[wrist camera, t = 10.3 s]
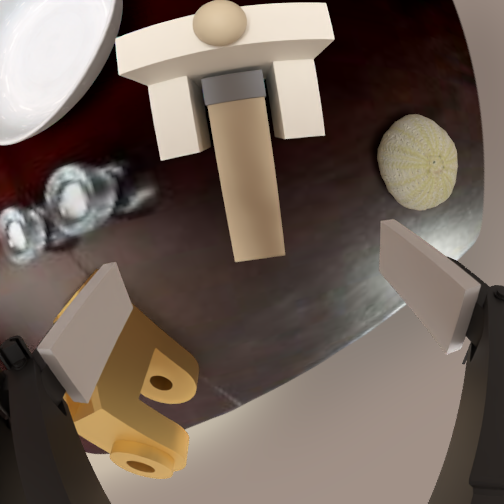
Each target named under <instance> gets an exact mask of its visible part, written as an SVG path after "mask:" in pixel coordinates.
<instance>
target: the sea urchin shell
mask: <svg viewBox="0 0 504 504" xmlns="http://www.w3.org/2000/svg"><path fill="white" fill-rule="evenodd" d="M377 156H378V157H377V160H378V164H379V169H380V174H381V176H382V179H383V180H384V182H385V184H386V188H387V189H388V191H389V192H390V193H391V194H392V195H393V197H394V198H395V199H396V201H397V202H398V203H400V204H401V205H403V206H404V207H407V208H410V209H416V210H426V209H428V208H432V207H435V206H436V207H437V205H439V204H440V203H442V202H444V201H445V200H447V199H448V197H449V196H450V194H451V193H452V190H453V187H454V185H455V182H456V173H457V167H458V164H457V150H456V148H455V145H454V143H453V141H452V140H451V138H450V137H449V136H448V135H447V133H446V131H445V130H443V129H442V128H441V127H439V126H438V125H437V124H436V123H435V122H434V121H432V120H430V119H428V118H426V117H423V116H421V115H419V114H418V115H417V114H413V115H406V116H404V117H403V118H401V119H400V120H398V121H395V123H394V124H393V125H392V126H391V128H390V129H389V130H388V131H386V133H385V134H384V135H383V138H382V141H381V143H380V145H379V148H378V154H377Z"/></svg>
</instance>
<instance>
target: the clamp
mask: <svg viewBox="0 0 504 504" xmlns="http://www.w3.org/2000/svg"><path fill="white" fill-rule="evenodd" d="M97 271H98V269H96V270H95V271H94V272H93V274H92V275H91V276H90V277H89V278H88V279H87V280H86V282H85V283H84V284H83V285H82V286H81V287H80V289H79V290H78V291H77V292H76V293H75V295H74V296H73V297H72V298H71V299H70V301H69V302H68V303H67V304H66V306H65V307H64V308H63V309H62V311H61V312H60V313H59V314H58V316H57V317H56V318H55V320H54V321H53V324H54V323H55V322H56V321H57V320H58V319H59V318H60V316H61V315H62V314H63V312H64V311H65V310H66V309H67V307H68V306H69V305H70V304H71V302H72V301H73V300H74V299H75V297H76V296H77V295H78V294H79V292H80V291H81V290H82V289H83V288H84V286H85V285H86V284H87V283H88V282H89V281H90V279H91V278H92V277H93V276H94V275H95V274H96V272H97ZM132 306H133V309H132V311H131V313H130V315H129V317H128V319H127V321H126V323H125V325H124V327H123V329H122V331H121V333H120V335H119V337H118V339H117V341H116V343H115V345H114V347H113V349H112V352H111V354H110V356H109V358H108V360H107V362H106V364H105V366H104V369H103V371H102V373H101V375H100V377H99V380H98V382H97V384H96V386H95V389H94V391H93V393H92V396H91V398H90V400H89V403H80V402H74V401H73V400H72V399H71V398H70V396H69V395H68V394H67V392H65V394H64V396H63V399H64V400H65V401H66V403H67V404H68V407H69V411H70V413H71V416H72V419H73V422H74V425H75V428H76V430H77V433H78V434H79V435H80V436H82V437H84V438H85V439H87V440H88V441H90V442H92V443H93V444H95V445H96V446H98V447H100V448H102V449H103V450H105V451H107V452H108V453H110V459H111V460H112V461H113V462H114V463H115V464H116V465H118V466H119V467H121V468H123V469H125V470H127V471H129V472H132V473H134V474H137V475H140V476H144V477H150V478H156V479H165V478H170V477H171V476H172V475H173V471H178V470H181V469H183V468H184V467H185V466H186V460H187V453H188V445H189V435H188V433H187V432H186V431H185V430H184V429H183V428H182V427H181V426H180V425H178V424H177V423H175V422H174V421H172V420H170V419H168V418H167V417H165V416H164V415H162V414H160V413H159V412H157V411H156V410H154V409H152V408H151V407H149V406H148V405H146V404H145V403H143V402H142V401H140V400H139V395H140V393H141V394H142V395H144V396H146V397H148V398H150V399H152V400H155V401H158V402H162V403H168V404H177V403H183V402H186V401H188V400H190V399H191V398H192V397H193V396H194V395H195V393H196V388H197V382H198V375H199V366H198V363H197V361H196V359H195V358H194V357H193V356H192V355H191V354H190V353H189V352H188V351H187V350H186V349H184V348H183V347H182V346H181V345H179V344H178V343H177V342H176V341H175V340H173V339H172V338H171V337H170V336H169V335H167V334H166V333H165V332H164V331H163V330H161V329H160V328H159V327H158V326H157V325H156V324H155V323H153V322H152V321H151V320H150V319H149V318H148V317H147V316H146V315H144V314H143V313H142V312H141V311H140V310H139V309H138V308H137V307H136V306H135V305H133V304H132Z"/></svg>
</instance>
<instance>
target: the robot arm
mask: <svg viewBox="0 0 504 504" xmlns="http://www.w3.org/2000/svg"><path fill="white" fill-rule="evenodd" d="M379 272H380V273H381V274H382V275H383V276H384V278H385V279H386V280H387V281H388V282H389V283H390V285H391V286H392V287H393V288H394V289H395V290H396V292H397V293H398V294H399V295H400V296H401V298H402V299H403V300H404V301H405V302H406V304H407V305H408V306H409V307H410V309H411V310H412V311H413V312H414V314H415V315H416V316H417V317H418V319H419V320H420V321H421V322H422V323H423V325H424V326H425V327H426V329H427V330H428V331H429V332H430V334H431V335H432V337H433V338H434V339H435V340H436V342H437V343H438V344H439V346H440V347H441V349H442V350H443V351H444V353H445V354H446V355H447V354H449V353H451V352H454V351H457V350H459V349H461V348H462V345H463V342H464V339H465V337H466V336H467V337H468V339H469V340H470V341H471V343H470V346H469V349H468V351H467V353H466V356H465V358H464V360H463V363H462V364H465V362H466V360H467V363H466V371H465V378H464V384H463V390H462V396H461V400H460V406H459V410H458V414H457V419H456V423H455V427H454V431H453V435H452V438H451V442H450V445H449V448H448V452H447V455H446V458H445V461H444V464H443V467H442V470H441V472H440V475H439V478H438V480H437V483H436V486H435V488H434V490H433V493H432V495H431V498H430V500H429V502H428V504H504V286H499V285H495V286H491V287H489V286H488V285H487V284H486V283H484V282H483V281H482V280H480V278H478V277H477V276H476V275H475V274H473V273H471V271H470V270H468V269H467V268H465V266H463V265H462V264H461V263H459V262H458V261H456V260H454V259H452V258H449V257H446V256H445V255H443V254H442V253H441V252H439V251H438V250H437V249H435V248H434V247H433V246H431V245H430V244H429V243H427V242H426V241H424V240H423V239H422V238H420V237H419V236H417V235H416V234H415V233H413V232H412V231H410V230H409V229H407V228H406V227H405V226H403V225H402V224H400V223H399V222H397V221H396V220H394V219H392V220H384V221H381V227H380V261H379ZM132 309H133V306H132V303H131V301H130V298H129V296H128V293H127V291H126V288H125V285H124V283H123V280H122V277H121V274H120V272H119V269H118V266H117V263H116V262H113V263H107V264H103V266H102V267H101V268H100V269H99V270H98V271H97V272H96V274H95V275H94V276H93V277H92V278H91V279H90V281H89V282H88V283H87V284H86V285H85V286H84V288H83V289H82V290H81V291H80V292H79V294H78V295H77V296H76V297H75V299H74V300H73V301H72V302H71V304H70V305H69V306H68V307H67V309H66V310H65V311H64V312H63V314H62V315H61V316H60V318H59V319H58V320H57V321H56V322H55V323H54V324H53V326H52V327H51V328H50V330H49V331H48V332H47V334H46V336H44V338H43V339H42V341H41V342H40V343H39V345H38V346H37V348H36V349H35V350H34V352H33V353H32V354H31V352H30V351H29V349H28V347H27V346H26V344H25V342H24V341H23V339H22V337H20V336H13V337H11V338H9V339H7V340H6V341H4V342H3V343H2V344H1V346H0V359H1V360H2V362H3V363H4V365H5V366H6V368H7V369H8V370H4V371H2V369H1V368H0V504H111V503H110V501H109V499H108V497H107V496H106V494H105V492H104V490H103V488H102V486H101V484H100V482H99V480H98V478H97V476H96V474H95V472H94V470H93V468H92V466H91V464H90V462H89V460H88V457H87V455H86V453H85V450H84V448H83V445H82V443H81V441H80V438H79V435H78V433H77V430H76V428H75V425H74V422H73V419H72V416H71V413H70V411H69V407H68V404H67V403H66V401H65V400H64V399H63V396H64V394H65V392H67V394H68V395H69V396H70V398H71V399H72V400H73V401H74V402H80V403H89V400H90V398H91V396H92V393H93V391H94V389H95V386H96V384H97V382H98V380H99V377H100V375H101V373H102V371H103V369H104V366H105V364H106V362H107V360H108V358H109V356H110V354H111V352H112V349H113V347H114V345H115V343H116V341H117V339H118V337H119V335H120V333H121V331H122V329H123V327H124V325H125V323H126V321H127V319H128V317H129V315H130V313H131V311H132Z"/></svg>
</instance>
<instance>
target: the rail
mask: <svg viewBox="0 0 504 504" xmlns="http://www.w3.org/2000/svg"><path fill="white" fill-rule="evenodd" d="M201 82H202V88H203V94H204V101H205V105H206V106H207V107H208V112H209V118H210V124H211V130H212V136H213V142H214V148H215V154H216V160H217V165H218V171H219V177H220V182H221V188H222V194H223V199H224V205H225V210H226V216H227V221H228V227H229V232H230V237H231V243H232V248H233V253H234V259H235V262H240V261H247V260H254V259H261V258H268V257H275V256H282V255H285V249H284V240H283V231H282V222H281V214H280V205H279V197H278V189H277V182H276V174H275V166H274V159H273V152H272V145H271V138H270V131H269V124H268V117H267V111H266V104H265V97H266V92H265V85H264V79H263V73H262V70H253V71H246V72H238V73H232V74H226V75H220V76H214V77H209V78H204V79H201Z"/></svg>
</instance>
